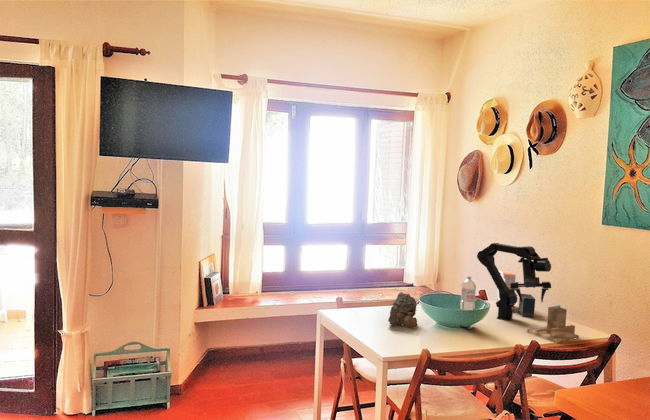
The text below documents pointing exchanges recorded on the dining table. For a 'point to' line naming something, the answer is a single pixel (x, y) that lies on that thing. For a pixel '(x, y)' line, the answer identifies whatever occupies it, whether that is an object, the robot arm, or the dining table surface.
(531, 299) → the small box
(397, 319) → the rock
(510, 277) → the cracker box
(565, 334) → the cleat board
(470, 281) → the water bottle
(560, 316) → the wooden block
